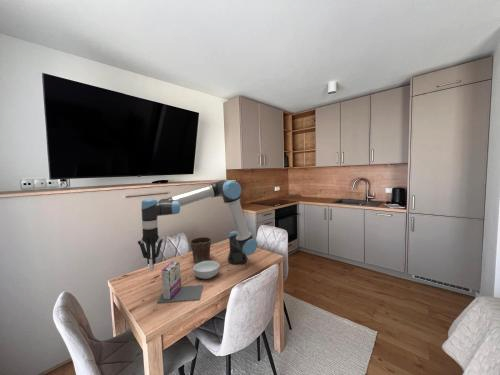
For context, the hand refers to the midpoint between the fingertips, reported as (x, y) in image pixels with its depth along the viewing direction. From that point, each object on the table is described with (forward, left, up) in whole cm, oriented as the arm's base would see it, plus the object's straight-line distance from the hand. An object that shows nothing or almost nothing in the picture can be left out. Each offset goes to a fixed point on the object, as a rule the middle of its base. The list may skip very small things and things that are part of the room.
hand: (151, 269), depth 113 cm
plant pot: (-20, -44, -16) cm, 51 cm away
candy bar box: (-10, 0, -15) cm, 18 cm away
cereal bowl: (-27, -19, -16) cm, 37 cm away
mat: (-15, 0, -15) cm, 22 cm away
